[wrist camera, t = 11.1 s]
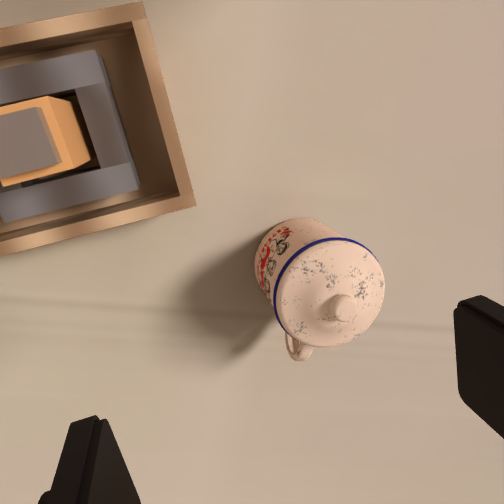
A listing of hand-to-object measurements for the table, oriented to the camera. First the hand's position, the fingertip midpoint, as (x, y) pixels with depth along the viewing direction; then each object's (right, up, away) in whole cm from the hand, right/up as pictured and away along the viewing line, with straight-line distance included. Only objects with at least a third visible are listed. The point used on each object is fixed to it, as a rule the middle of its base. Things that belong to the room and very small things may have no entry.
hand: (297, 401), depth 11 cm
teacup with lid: (+3, +2, +31) cm, 31 cm away
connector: (-16, +13, +22) cm, 30 cm away
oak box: (-16, +13, +23) cm, 31 cm away
